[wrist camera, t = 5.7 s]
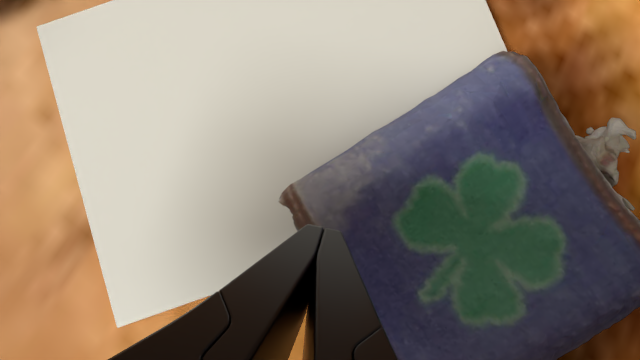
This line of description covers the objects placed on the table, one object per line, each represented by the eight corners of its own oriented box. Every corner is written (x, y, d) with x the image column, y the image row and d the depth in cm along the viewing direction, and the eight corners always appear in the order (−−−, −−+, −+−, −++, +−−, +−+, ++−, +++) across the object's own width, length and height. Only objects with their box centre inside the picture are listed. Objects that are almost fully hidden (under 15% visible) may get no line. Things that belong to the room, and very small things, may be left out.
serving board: (553, 175, 18) (560, 173, 18) (123, 325, 18) (117, 328, 18) (435, -103, 20) (437, -112, 20) (43, 31, 20) (36, 26, 20)
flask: (271, 194, 15) (569, 3, 15) (280, 195, 18) (526, 37, 18) (441, 461, 15) (744, 261, 15) (420, 414, 18) (670, 250, 18)
